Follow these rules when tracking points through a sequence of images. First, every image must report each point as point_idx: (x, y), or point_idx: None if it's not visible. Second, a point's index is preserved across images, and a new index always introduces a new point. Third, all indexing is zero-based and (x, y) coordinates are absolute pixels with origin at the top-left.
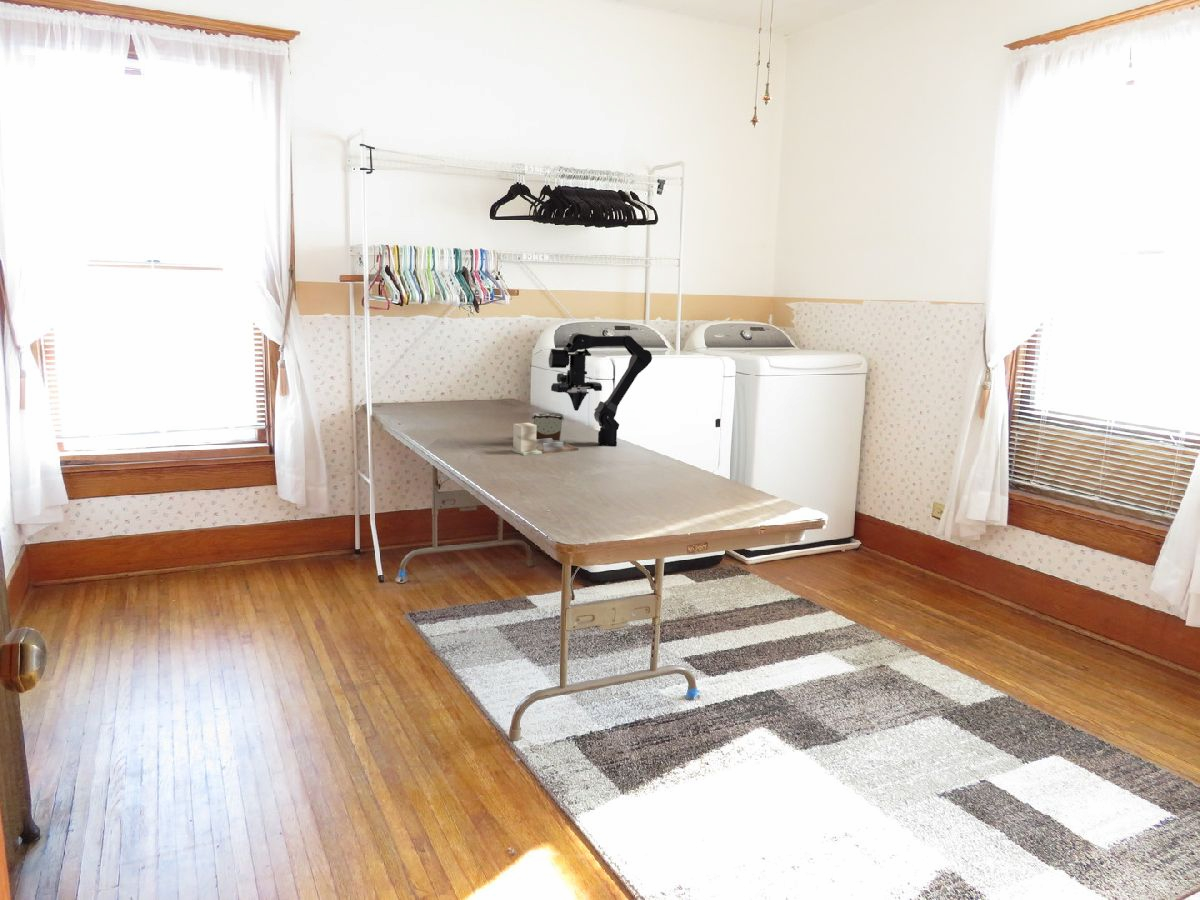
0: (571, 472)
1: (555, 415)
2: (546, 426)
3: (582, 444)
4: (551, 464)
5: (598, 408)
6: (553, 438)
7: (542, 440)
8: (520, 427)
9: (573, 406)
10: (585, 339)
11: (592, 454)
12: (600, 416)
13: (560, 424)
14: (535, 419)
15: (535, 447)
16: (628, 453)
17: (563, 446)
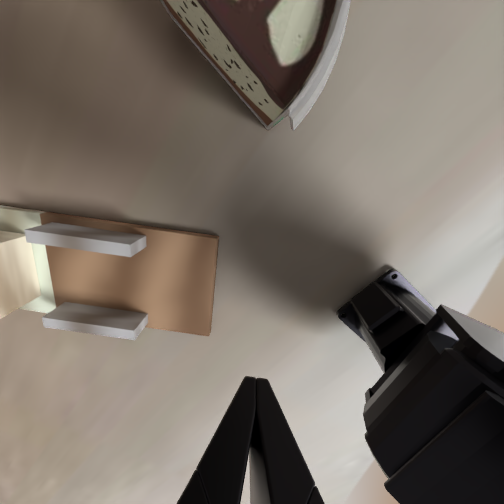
0: (52, 482)
1: None
2: (197, 28)
3: (300, 257)
4: (37, 418)
5: (480, 464)
6: (245, 100)
7: (80, 247)
8: None
9: (229, 407)
10: None
11: (210, 393)
12: (376, 455)
13: (274, 111)
14: None
15: (27, 301)
16: (314, 432)
17: (174, 288)
